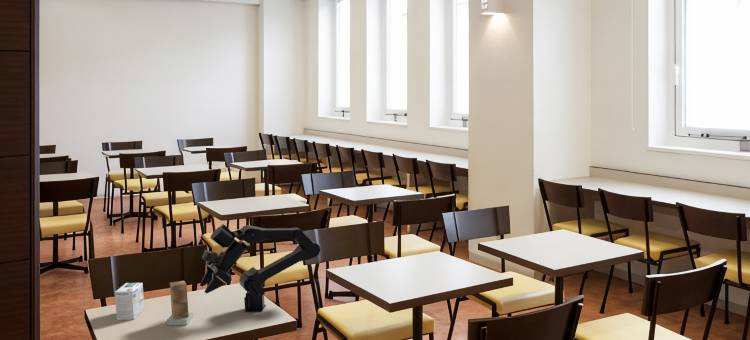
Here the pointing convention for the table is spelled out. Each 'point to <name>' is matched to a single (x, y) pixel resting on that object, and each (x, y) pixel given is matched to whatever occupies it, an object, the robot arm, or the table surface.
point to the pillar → (179, 299)
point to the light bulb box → (129, 301)
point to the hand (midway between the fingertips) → (203, 289)
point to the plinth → (179, 320)
